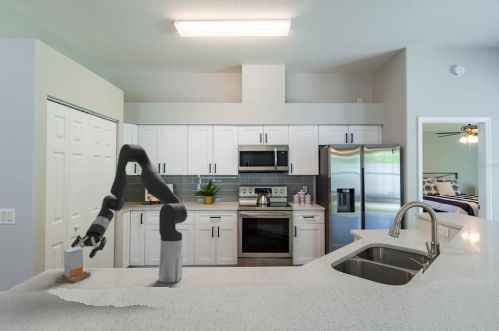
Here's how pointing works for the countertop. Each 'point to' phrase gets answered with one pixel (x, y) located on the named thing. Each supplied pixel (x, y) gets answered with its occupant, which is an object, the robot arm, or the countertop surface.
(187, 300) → the countertop surface
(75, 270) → the skincare box
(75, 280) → the tray
